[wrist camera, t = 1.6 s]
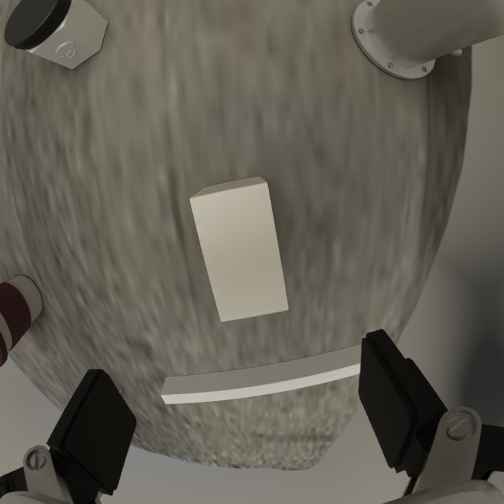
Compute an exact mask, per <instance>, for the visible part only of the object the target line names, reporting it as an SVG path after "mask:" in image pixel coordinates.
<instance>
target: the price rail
mask: <svg viewBox="0 0 504 504" xmlns="http://www.w3.org/2000/svg"><path fill="white" fill-rule="evenodd" d="M360 363H361V344H359V345H355V346H352V347H348V348H344V349H340V350H336V351H332V352H328V353H324V354H319V355H315V356H311V357H306V358H301V359H296V360H291V361H286V362H281V363H276V364H270V365H264V366H258V367H252V368H246V369H239V370H232V371H224V372H216V373H207V374H198V375H187V376H175V377H166V379H165V382H164V385H163V389H162V392H161V397H162V398H163V400H164V402H165V404H177V403H195V402H208V401H219V400H228V399H237V398H244V397H252V396H259V395H265V394H271V393H277V392H282V391H288V390H293V389H298V388H303V387H308V386H312V385H317V384H321V383H325V382H329V381H333V380H337V379H341V378H345V377H349V376H352V375H356V374H359V373H360Z"/></svg>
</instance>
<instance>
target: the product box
mask: <svg viewBox="0 0 504 504" xmlns="http://www.w3.org/2000/svg"><path fill="white" fill-rule="evenodd" d="M190 202H191V207H192V211H193V215H194V220H195V224H196V228H197V232H198V236H199V240H200V244H201V248H202V252H203V256H204V260H205V264H206V268H207V272H208V275H209V279H210V283H211V287H212V290H213V294H214V298H215V301H216V305H217V309H218V312H219V316H220V319H221V322H224V321H230V320H236V319H242V318H248V317H254V316H259V315H265V314H270V313H275V312H280V311H286V310H288V303H287V297H286V290H285V284H284V278H283V271H282V265H281V259H280V253H279V247H278V241H277V235H276V230H275V224H274V218H273V212H272V207H271V201H270V196H269V190H268V185H267V182H266V181H265V180H263V179H262V178H261V177H260V176H257V177H252V178H247V179H241V180H236V181H231V182H226V183H222V184H217V185H212V186H208V187H205V188H204V189H202V190H201V191H199V192H198V193H197V194H195V195H194V196H192V197H191V198H190Z"/></svg>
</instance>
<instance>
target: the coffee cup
mask: <svg viewBox="0 0 504 504" xmlns="http://www.w3.org/2000/svg"><path fill="white" fill-rule="evenodd" d="M41 311H42V298H41V295H40V292H39V290H38V288H37V287H36V285H35V284H34V283H33V282H32V281H31V280H30V279H29V278H27V277H25V276H22V275H20V276H16V277H14V278H13V279H11V280H9V281H7V282H3V283H1V284H0V367H1V366H2V365H3V364H4V363H5V362H6V360H7V356H8V351H10V350H12V349H13V347H14V346H15V345H16V344H17V342H18V341H19V340H20V339H21V338H22V336H23V335H24V334H25V333H26V331H27V330H28V329H29V328H30V326H31V323H32V322H33V321H34V320H35V319H36V318H37V317H38V316H39V314H40V313H41Z"/></svg>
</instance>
